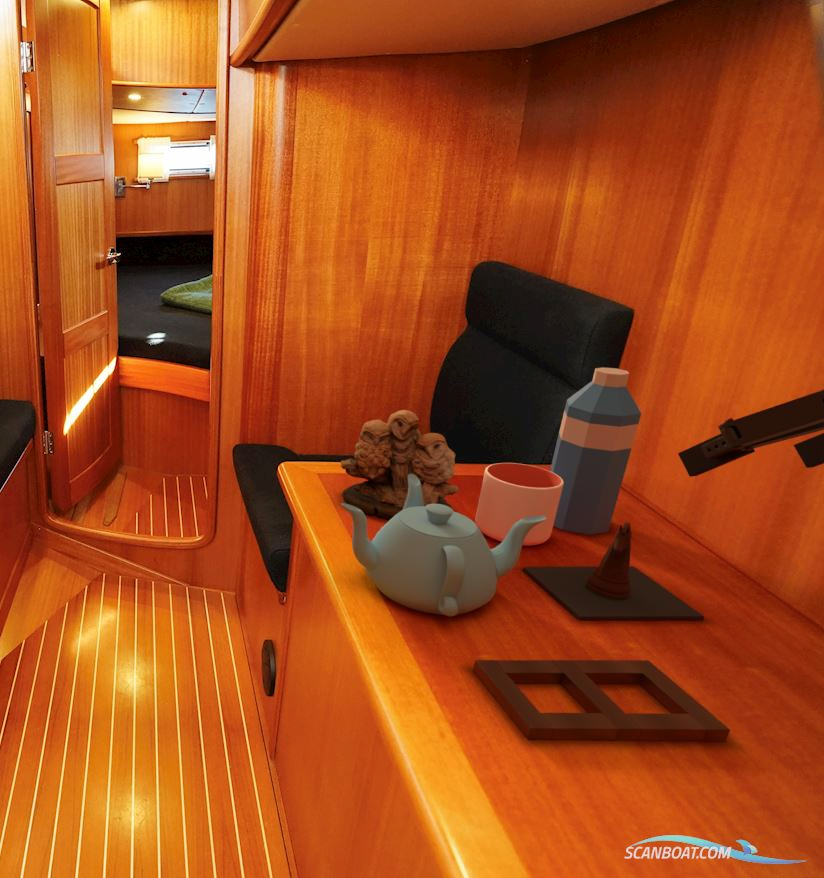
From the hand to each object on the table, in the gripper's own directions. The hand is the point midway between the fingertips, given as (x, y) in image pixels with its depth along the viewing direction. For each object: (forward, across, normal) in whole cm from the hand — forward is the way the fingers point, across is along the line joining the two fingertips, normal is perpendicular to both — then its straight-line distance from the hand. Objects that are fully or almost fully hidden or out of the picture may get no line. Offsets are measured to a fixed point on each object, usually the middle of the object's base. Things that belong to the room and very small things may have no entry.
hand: (744, 460), depth 75 cm
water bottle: (+38, +12, +4) cm, 40 cm away
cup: (+37, -1, +3) cm, 37 cm away
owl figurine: (+45, -13, +11) cm, 48 cm away
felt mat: (+24, 0, -9) cm, 26 cm away
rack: (+11, -19, -22) cm, 31 cm away
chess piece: (+24, 0, -9) cm, 26 cm away
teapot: (+28, -22, -5) cm, 36 cm away
